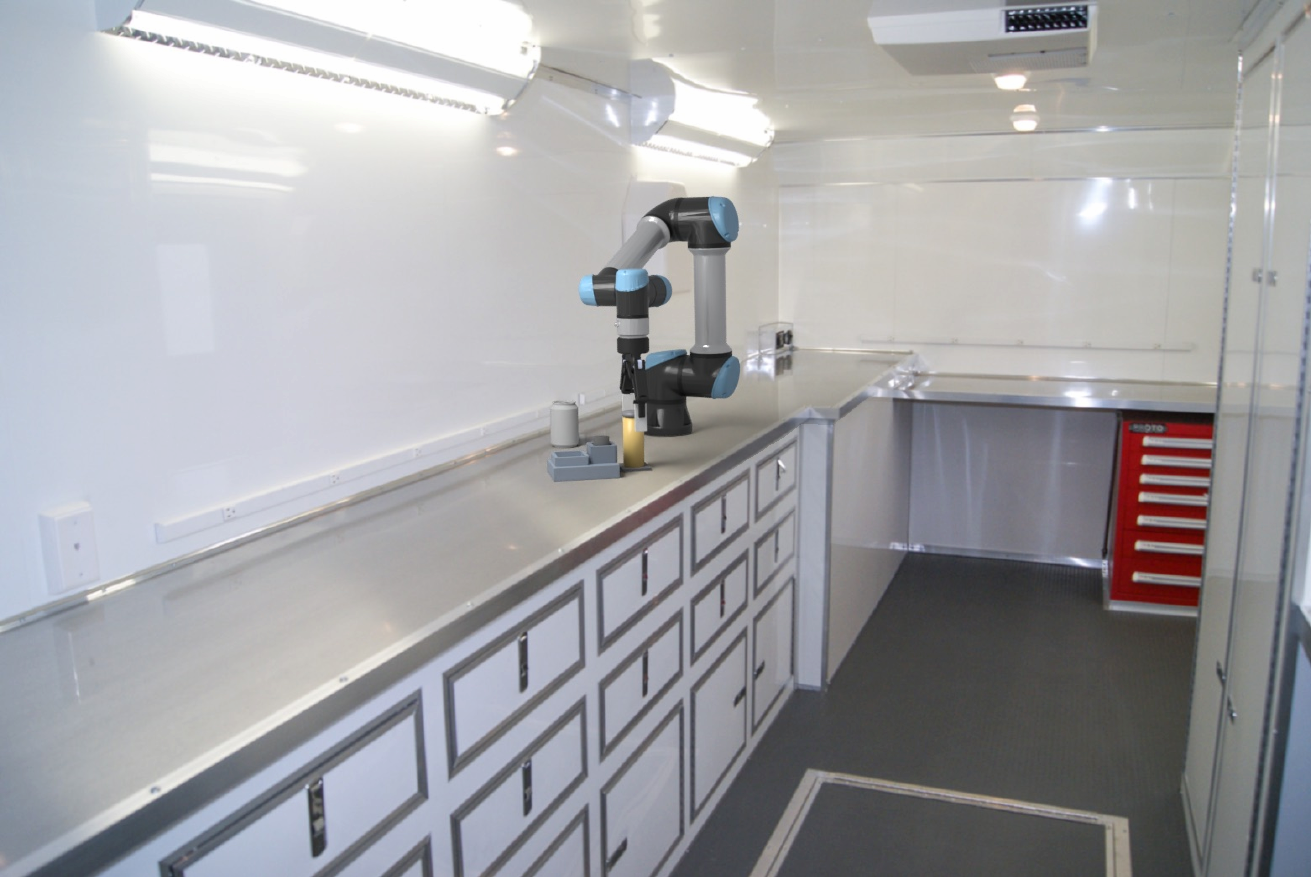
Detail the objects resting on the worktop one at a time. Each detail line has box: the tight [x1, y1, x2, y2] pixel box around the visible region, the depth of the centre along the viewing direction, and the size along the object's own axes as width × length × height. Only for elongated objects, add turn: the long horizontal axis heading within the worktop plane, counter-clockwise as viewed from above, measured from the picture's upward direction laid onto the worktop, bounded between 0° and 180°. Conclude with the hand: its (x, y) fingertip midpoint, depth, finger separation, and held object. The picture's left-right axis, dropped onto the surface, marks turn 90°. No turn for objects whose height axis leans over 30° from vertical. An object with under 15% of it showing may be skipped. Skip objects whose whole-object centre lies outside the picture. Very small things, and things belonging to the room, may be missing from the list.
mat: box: [617, 461, 653, 473], centre depth 246 cm, size 7×7×1 cm
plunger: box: [593, 435, 610, 446], centre depth 239 cm, size 4×4×5 cm
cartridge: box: [621, 409, 645, 468], centre depth 245 cm, size 5×5×13 cm
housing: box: [546, 440, 621, 483], centre depth 238 cm, size 15×11×7 cm
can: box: [549, 399, 580, 449], centre depth 273 cm, size 8×8×12 cm
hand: (634, 426), depth 244 cm, fingers open, 13 cm apart
